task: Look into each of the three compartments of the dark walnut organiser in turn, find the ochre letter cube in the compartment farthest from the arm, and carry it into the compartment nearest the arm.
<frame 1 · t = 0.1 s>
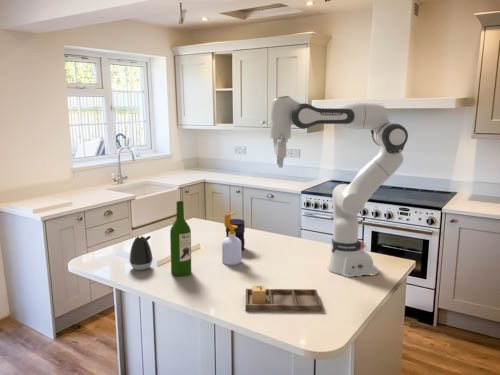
hand: (279, 165, 184), 48 cm above the counter, tool pointing down, fingers open, 8 cm apart
letter cube: (258, 300, 159), point 1 cm above the counter, touching organiser
wine bottle: (181, 273, 187), on the counter
soap bottle: (231, 262, 201), on the counter
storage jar: (235, 249, 220), on the counter
organiser: (282, 302, 160), on the counter
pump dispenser: (141, 268, 192), on the counter
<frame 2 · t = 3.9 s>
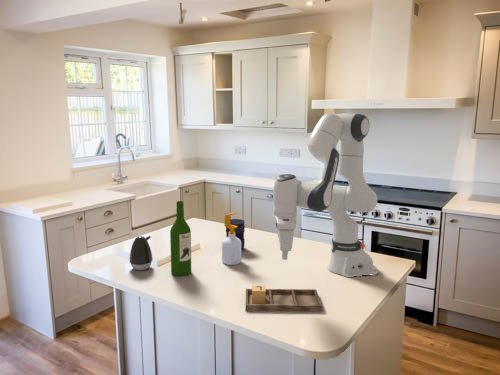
hand: (283, 254, 156), 19 cm above the counter, tool pointing down, fingers open, 8 cm apart
nothing on the counter moved.
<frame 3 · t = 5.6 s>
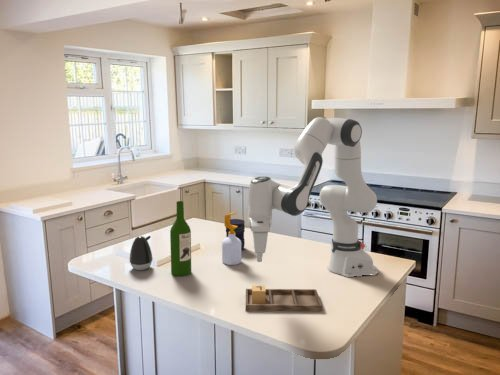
hand: (259, 256, 156), 18 cm above the counter, tool pointing down, fingers open, 8 cm apart
nothing on the counter moved.
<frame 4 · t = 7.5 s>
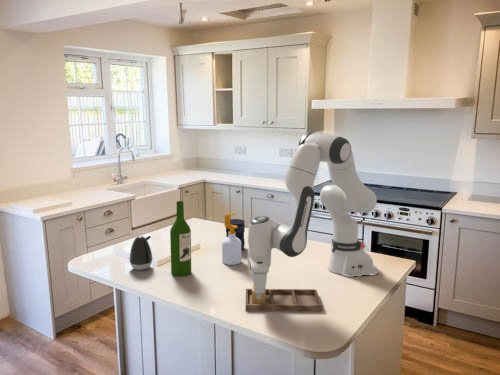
hand: (258, 294, 159), 3 cm above the counter, tool pointing down, fingers closed on letter cube, 5 cm apart
letter cube: (258, 300, 159), point 1 cm above the counter, touching gripper, organiser
everything else where it was.
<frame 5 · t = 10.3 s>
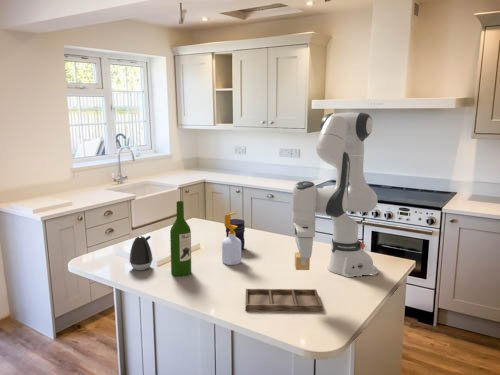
hand: (302, 261, 157), 16 cm above the counter, tool pointing down, fingers closed on letter cube, 5 cm apart
letter cube: (301, 267, 158), point 14 cm above the counter, touching gripper
everything else where it was.
when the fingers open (4 cm above the counter, at t = 13.4 s): letter cube drops 1 cm, resting on organiser.
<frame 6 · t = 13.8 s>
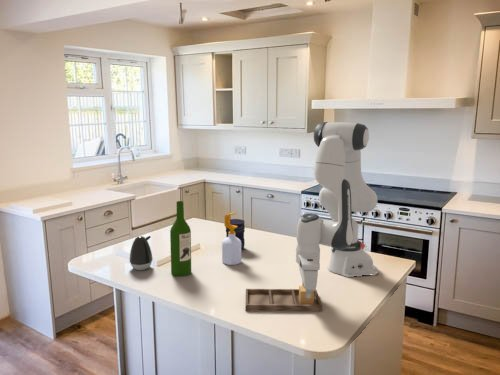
hand: (306, 291, 159), 4 cm above the counter, tool pointing down, fingers open, 8 cm apart
letter cube: (306, 300, 160), point 1 cm above the counter, touching organiser
everything else where it was.
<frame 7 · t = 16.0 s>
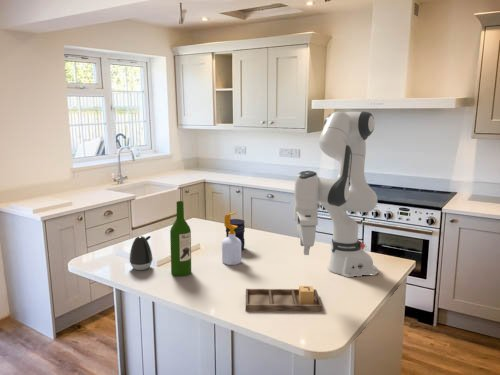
hand: (304, 249, 159), 20 cm above the counter, tool pointing down, fingers open, 8 cm apart
nothing on the counter moved.
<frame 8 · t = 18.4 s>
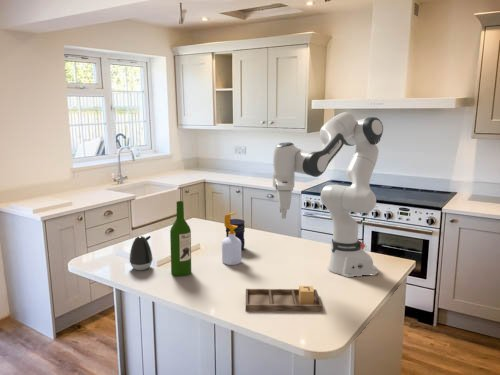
hand: (282, 215, 174), 29 cm above the counter, tool pointing down, fingers open, 8 cm apart
nothing on the counter moved.
at the end: letter cube inside the target area on the organiser (0.1 cm from its centre), point 0.6 cm above the organiser's base; letter cube tilted 0°; the gripper is holding nothing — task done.
